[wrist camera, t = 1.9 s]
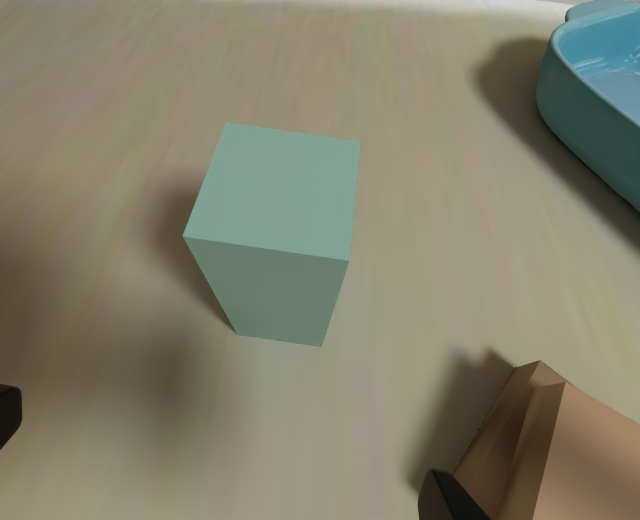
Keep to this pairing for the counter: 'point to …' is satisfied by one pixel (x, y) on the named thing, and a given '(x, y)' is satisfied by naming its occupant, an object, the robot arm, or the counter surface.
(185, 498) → the counter surface
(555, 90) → the casserole dish
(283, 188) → the teal block
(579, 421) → the top coaster
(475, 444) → the base plinth
